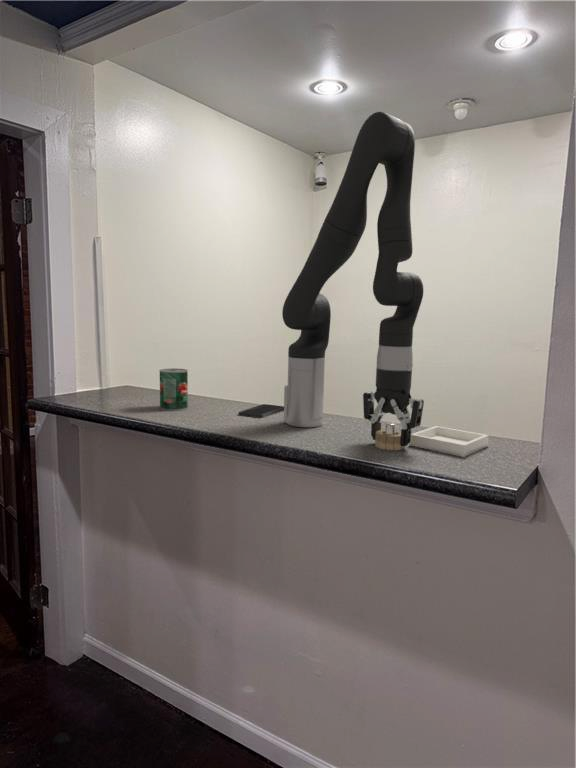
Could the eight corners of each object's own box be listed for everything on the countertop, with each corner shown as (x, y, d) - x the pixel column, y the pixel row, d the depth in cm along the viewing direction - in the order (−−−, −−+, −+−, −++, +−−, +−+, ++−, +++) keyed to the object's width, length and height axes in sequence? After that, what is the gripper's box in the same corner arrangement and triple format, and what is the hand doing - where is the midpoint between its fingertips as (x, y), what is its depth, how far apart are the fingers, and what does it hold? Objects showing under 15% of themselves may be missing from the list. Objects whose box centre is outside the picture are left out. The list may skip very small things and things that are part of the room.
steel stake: (382, 446, 118) (384, 423, 117) (388, 444, 120) (389, 422, 119) (391, 448, 117) (392, 425, 116) (396, 446, 118) (398, 423, 118)
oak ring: (369, 446, 118) (370, 432, 117) (385, 441, 123) (385, 428, 122) (395, 451, 114) (395, 438, 113) (410, 446, 118) (411, 433, 118)
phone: (287, 406, 157) (261, 415, 144) (287, 410, 157) (261, 419, 144) (263, 403, 160) (236, 412, 147) (263, 407, 161) (236, 416, 147)
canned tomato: (190, 410, 153) (190, 371, 151) (162, 411, 150) (161, 372, 148) (185, 404, 160) (184, 368, 158) (157, 406, 157) (157, 368, 155)
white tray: (409, 445, 119) (409, 434, 119) (435, 436, 128) (436, 425, 128) (463, 457, 111) (464, 445, 110) (487, 446, 120) (488, 435, 120)
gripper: (356, 365, 118) (353, 439, 120) (415, 371, 108) (411, 452, 111) (375, 362, 123) (371, 434, 126) (433, 368, 114) (428, 445, 116)
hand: (390, 442), depth 118 cm, fingers closed on oak ring, 6 cm apart
